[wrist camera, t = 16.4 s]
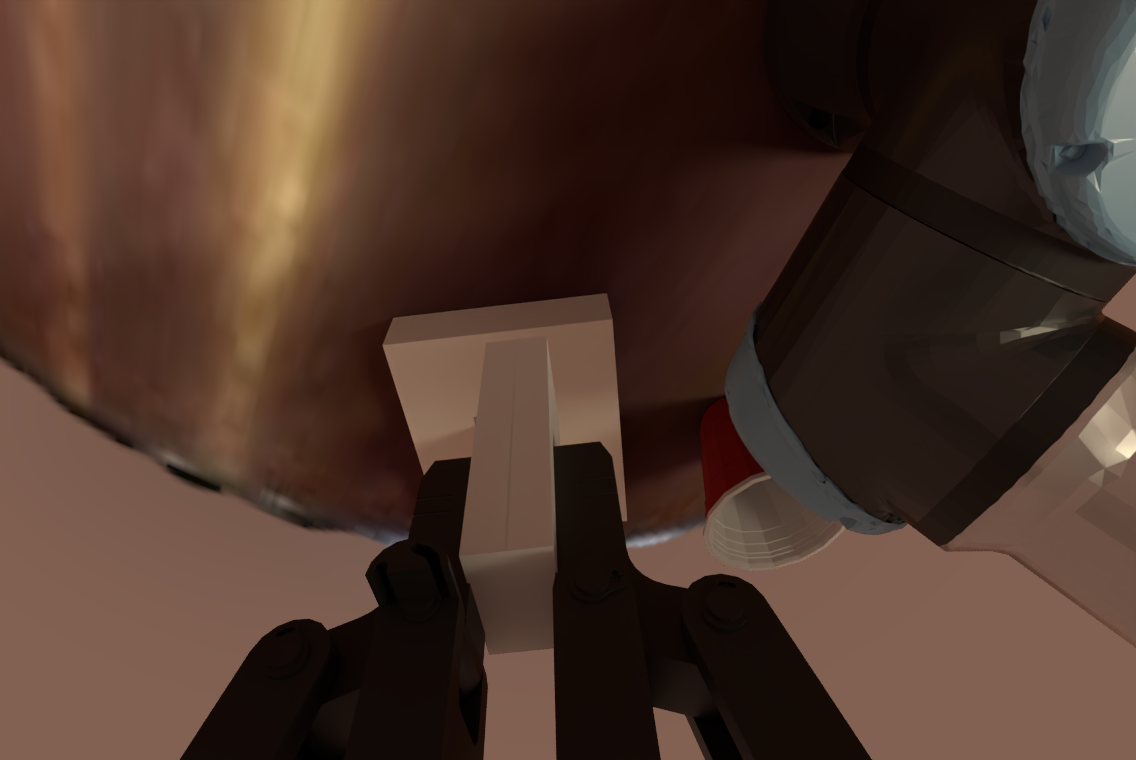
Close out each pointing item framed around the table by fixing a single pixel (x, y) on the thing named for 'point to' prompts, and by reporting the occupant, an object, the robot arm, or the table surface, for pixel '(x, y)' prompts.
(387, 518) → the table surface
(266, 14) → the table surface
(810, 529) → the plastic cup
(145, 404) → the table surface
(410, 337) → the socket plate
